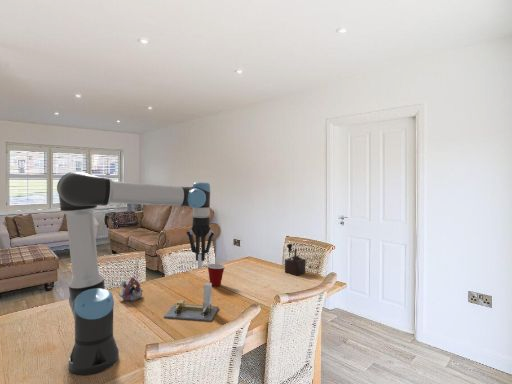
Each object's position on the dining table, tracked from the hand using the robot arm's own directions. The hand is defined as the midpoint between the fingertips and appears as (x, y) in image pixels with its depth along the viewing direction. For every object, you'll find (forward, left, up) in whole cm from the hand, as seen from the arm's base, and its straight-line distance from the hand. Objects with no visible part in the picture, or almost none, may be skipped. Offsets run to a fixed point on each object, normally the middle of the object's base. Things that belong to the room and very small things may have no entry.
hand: (200, 267), depth 143 cm
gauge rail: (+2, +4, -22) cm, 23 cm away
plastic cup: (+40, +2, -23) cm, 46 cm away
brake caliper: (+13, +40, -23) cm, 48 cm away
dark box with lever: (+75, -43, -23) cm, 89 cm away
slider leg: (+2, -3, -21) cm, 22 cm away
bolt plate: (+2, +4, -22) cm, 23 cm away
